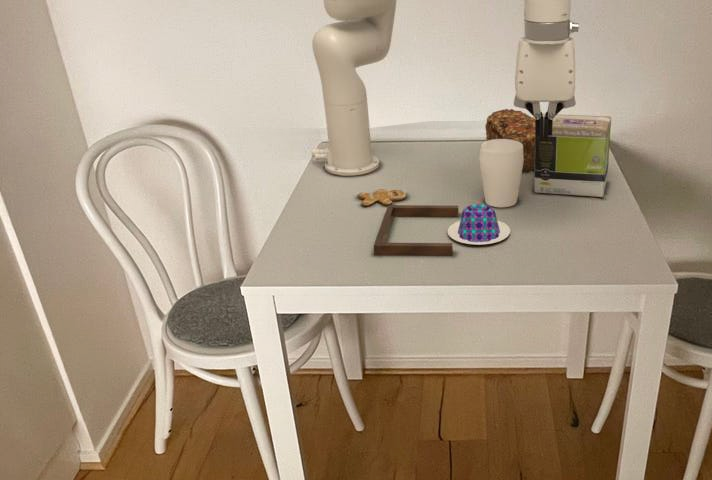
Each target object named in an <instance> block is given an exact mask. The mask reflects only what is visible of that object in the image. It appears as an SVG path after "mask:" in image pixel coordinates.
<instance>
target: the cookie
mask: <svg viewBox="0 0 712 480" xmlns="http://www.w3.org/2000/svg"><path fill="white" fill-rule="evenodd" d="M357 198H358V199H361V200H362V201H361V203H360V204H361V205H362V206H363V207H369V206H371V205H373V204H374V203H377V202H379V203H380V204H382V205H383V206H388V205H392V203H393V202H399V201H402V200H404V199H406V198H407V192H406V191H404V190H403V189H401V188H400V189H399V188H392V189H389V190H386V189H384V188H379V189H377V190H375V193H371V192H366V191H364V192H359V193H358V194H357Z"/></svg>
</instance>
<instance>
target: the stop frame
mask: <svg viewBox="0 0 712 480" xmlns="http://www.w3.org/2000/svg"><path fill="white" fill-rule="evenodd" d="M459 215H460V213H459V205H443V204H441V205H440V204H439V205H436V204H434V205H433V204H432V205H431V204H429V205H427V204H425V205H424V204H422V205H421V204H390V205H387V207H386V210H385V213H384V216H383V219H382V221H381V224H380V227H379V230H378V233H377V235H376V238H375V241H374V244H373V250H374V251H373V252H374V256H418V257H419V256H420V257H421V256H424V257H425V256H426V257H427V256H430V257H431V256H433V257H434V256H435V257H437V256H438V257H452V256H453V254H454V250H453V248H454V247H453V243H452V242H386V241H387V239H388V235H389V233H390V230H391V226H392V224H393V220H394V218H395V217H410V218H411V217H413V218H415V217H416V218H417V217H419V218H420V217H422V218H425V217H426V218H458V217H459Z"/></svg>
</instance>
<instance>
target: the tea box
mask: <svg viewBox="0 0 712 480" xmlns="http://www.w3.org/2000/svg"><path fill="white" fill-rule="evenodd" d="M542 114H543V118H544V116H545V115H546V113H542ZM611 126H612V116H608V115H585V114H584V115H581V114H559V113H558V114H557V115H556V116H555V117H554V119H553V125H552V136H548V142H545V141H544V131H543V141H542V142H539V136H535V161H534V169H533V192H534V193H537V194H538V193H539V194H555V195H568V196H581V197H582V196H583V197H595V198H596V197H597V198H604V196H605V190H606V186H607V182H608V174H609V173H608V171H609V161H610V160H609V159H610V146H611V145H610V144H611V130H612V129H611V128H612V127H611Z"/></svg>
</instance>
